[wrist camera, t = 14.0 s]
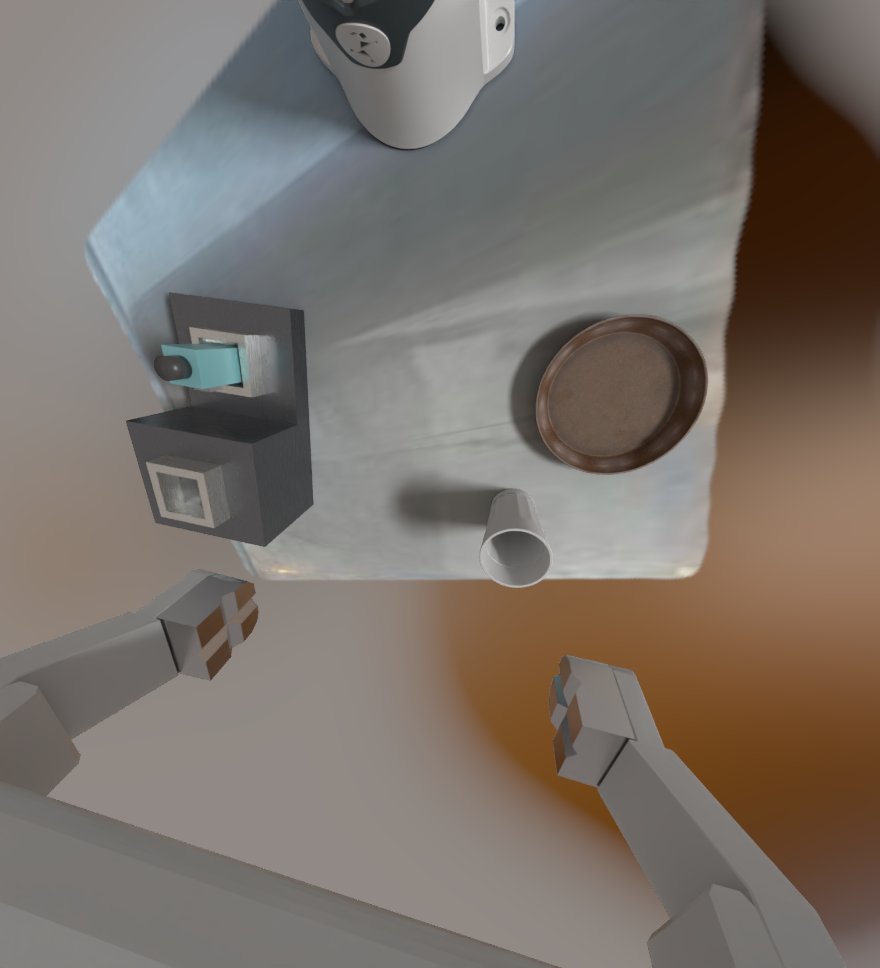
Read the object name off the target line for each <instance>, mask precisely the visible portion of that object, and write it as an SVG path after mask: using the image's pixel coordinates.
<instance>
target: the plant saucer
mask: <svg viewBox="0 0 880 968" xmlns="http://www.w3.org/2000/svg"><path fill="white" fill-rule="evenodd" d="M707 388H708V372H707V366H706V362H705V359H704V356H703V353H702V351H701V349H700V348H699V346H698V344H697V343H696V342H695V340H694V339H693V338H692V337H691V336H690V335H689V334H688V333H687V332H686V331H685V330H684V329H683V328H681V327H680V326H678V325H677V324H675V323H673V322H671V321H669V320H667V319H664V318H661V317H657V316H652V315H644V314H631V315H622V316H617V317H613V318H609V319H606V320H603V321H600V322H598V323H596V324H593V325H592V326H590V327H588V328H586V329H584V330H583V331H581V332H580V333H578V334H577V335H575V336H574V337H573V338H572V339H570V340H569V341H568V342H567V343H566V344H565V345H564V346H563V347H562V348H561V349H560V350H559V351H558V353H557V354H556V355H555V356H554V358H553V359H552V361H551V362H550V364H549V365H548V367H547V369H546V371H545V373H544V375H543V377H542V379H541V382H540V385H539V388H538V392H537V397H536V407H535V412H536V422H537V426H538V430H539V433H540V435H541V437H542V439H543V441H544V443H545V445H546V446H547V447H548V449H549V450H550V451H551V452H552V453H553V454H554V455H555V456H556V457H557V458H558V459H559V460H561V461H562V462H563V463H565V464H567V465H569V466H570V467H572V468H575V469H577V470H580V471H583V472H587V473H592V474H602V475H611V474H621V473H626V472H630V471H634V470H637V469H640V468H642V467H645V466H647V465H649V464H651V463H653V462H655V461H657V460H659V459H660V458H662V457H663V456H665V455H666V454H668V453H669V452H670V451H671V450H672V449H674V448H675V447H676V446H677V445H678V444H679V443H680V442H681V441H682V440H683V439H684V438H685V437H686V436H687V434H688V433H689V432H690V431H691V429H692V428H693V426H694V425H695V423H696V421H697V420H698V418H699V416H700V413H701V411H702V408H703V406H704V403H705V399H706V395H707Z"/></svg>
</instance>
